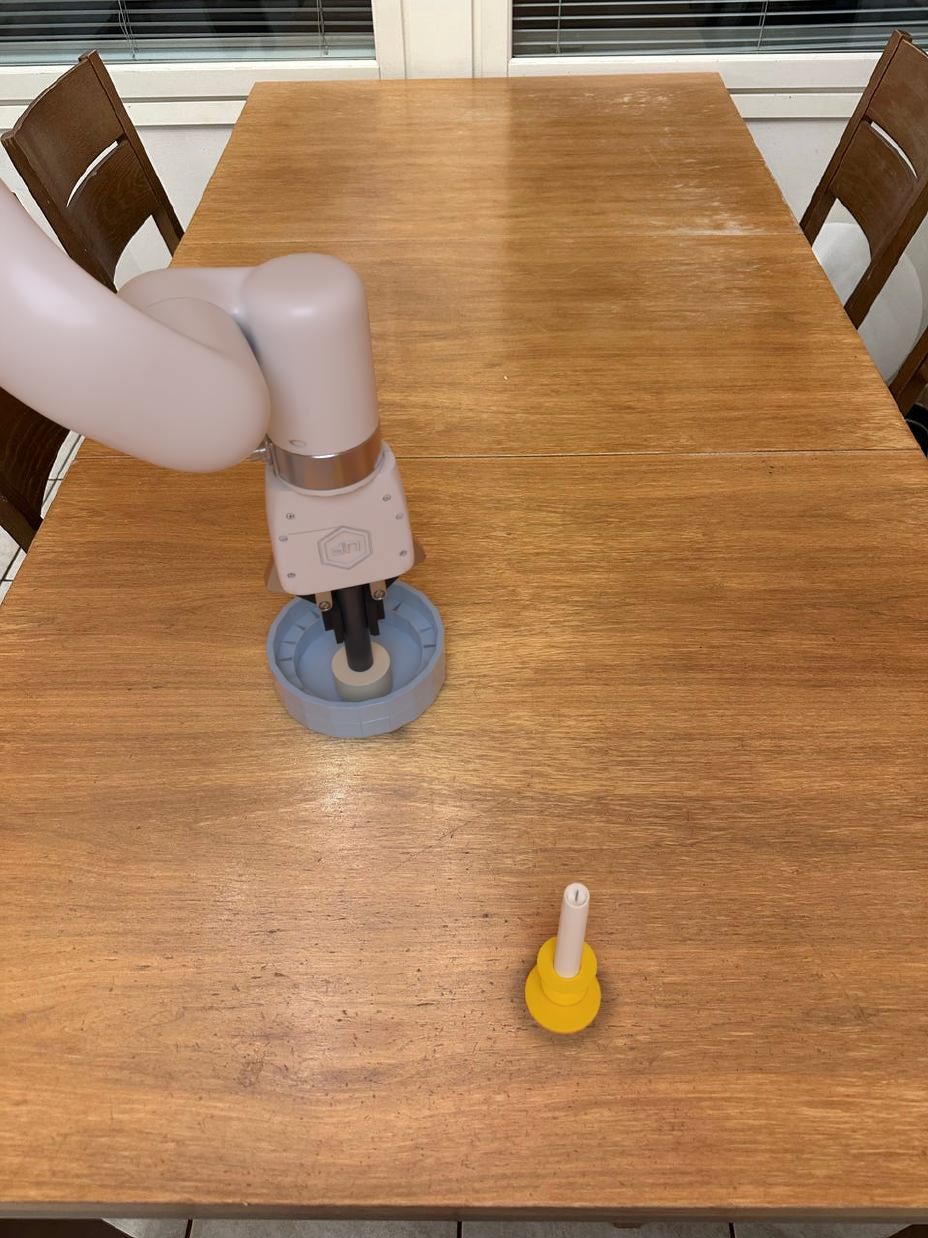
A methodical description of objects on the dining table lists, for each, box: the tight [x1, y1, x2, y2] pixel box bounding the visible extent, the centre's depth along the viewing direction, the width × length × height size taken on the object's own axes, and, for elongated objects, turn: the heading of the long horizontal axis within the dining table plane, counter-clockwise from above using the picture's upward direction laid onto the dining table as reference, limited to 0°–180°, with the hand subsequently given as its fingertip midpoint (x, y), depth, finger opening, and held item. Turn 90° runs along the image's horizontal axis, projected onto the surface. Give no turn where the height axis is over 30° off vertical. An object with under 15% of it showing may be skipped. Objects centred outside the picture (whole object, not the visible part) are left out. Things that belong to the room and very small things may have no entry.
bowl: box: [265, 579, 447, 739], centre depth 83 cm, size 15×15×5 cm
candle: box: [524, 882, 602, 1035], centre depth 59 cm, size 5×5×16 cm
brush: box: [331, 584, 393, 702], centre depth 78 cm, size 5×5×13 cm
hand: (355, 626), depth 77 cm, fingers closed on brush
